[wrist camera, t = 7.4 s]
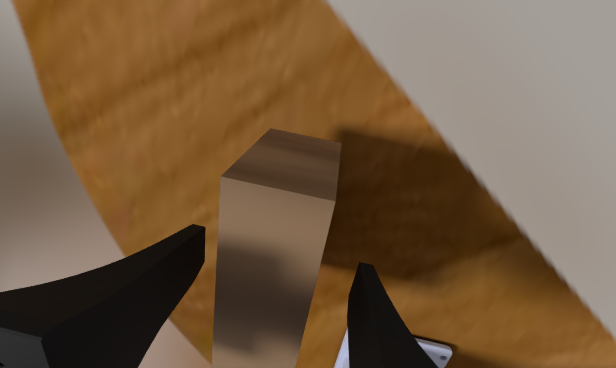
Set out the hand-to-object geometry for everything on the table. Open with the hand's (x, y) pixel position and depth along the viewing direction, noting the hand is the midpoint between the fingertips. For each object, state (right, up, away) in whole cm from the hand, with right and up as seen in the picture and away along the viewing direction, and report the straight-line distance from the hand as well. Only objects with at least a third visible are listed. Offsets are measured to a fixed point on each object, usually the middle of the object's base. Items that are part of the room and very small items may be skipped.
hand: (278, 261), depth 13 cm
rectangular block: (0, +1, +3) cm, 3 cm away
